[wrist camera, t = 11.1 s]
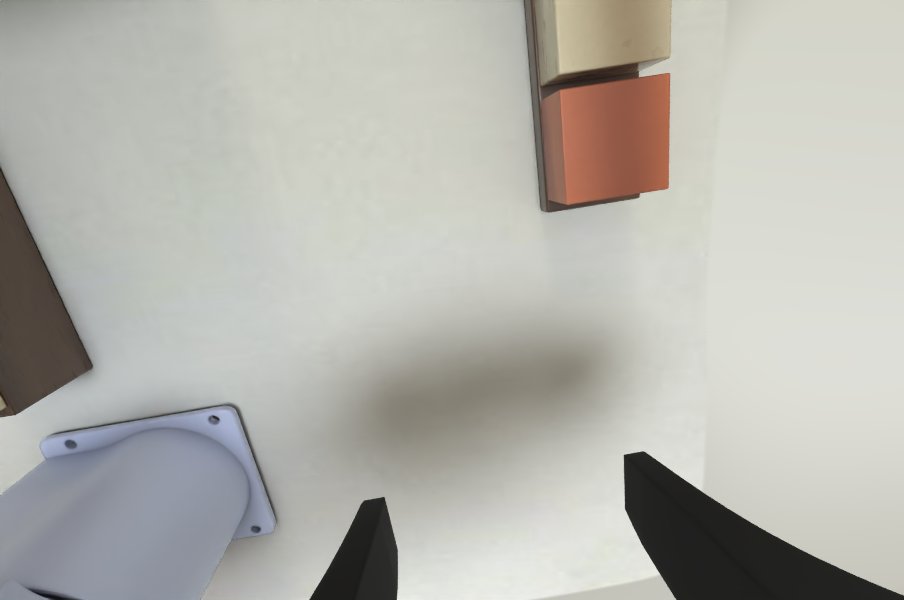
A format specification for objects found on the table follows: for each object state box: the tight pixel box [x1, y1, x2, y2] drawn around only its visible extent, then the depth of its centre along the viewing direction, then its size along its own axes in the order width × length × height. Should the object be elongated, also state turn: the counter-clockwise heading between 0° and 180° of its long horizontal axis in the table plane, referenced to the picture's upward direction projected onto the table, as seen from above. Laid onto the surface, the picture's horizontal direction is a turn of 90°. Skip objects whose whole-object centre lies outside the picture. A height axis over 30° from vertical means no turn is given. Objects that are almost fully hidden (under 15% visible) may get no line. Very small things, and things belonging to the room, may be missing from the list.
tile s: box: [541, 73, 670, 205], centre depth 16 cm, size 4×4×2 cm
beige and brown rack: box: [524, 0, 671, 213], centre depth 15 cm, size 4×14×3 cm, turn 9°
